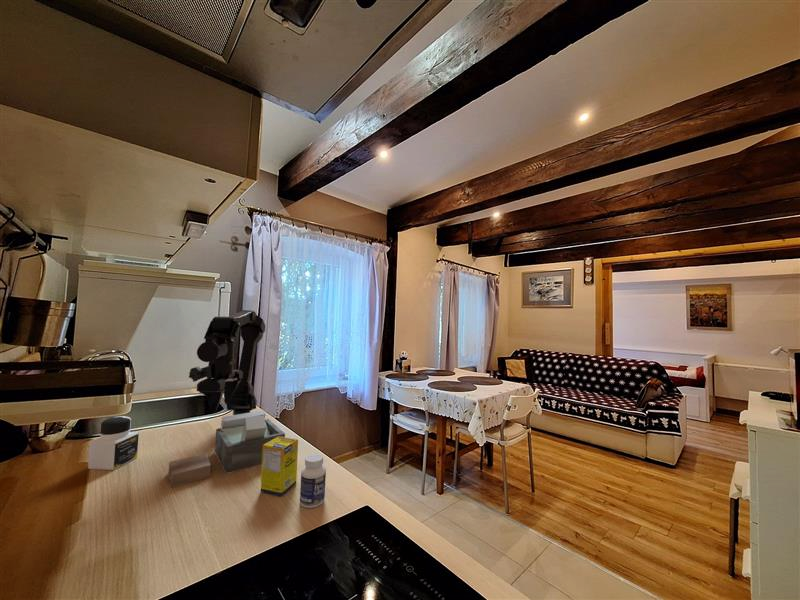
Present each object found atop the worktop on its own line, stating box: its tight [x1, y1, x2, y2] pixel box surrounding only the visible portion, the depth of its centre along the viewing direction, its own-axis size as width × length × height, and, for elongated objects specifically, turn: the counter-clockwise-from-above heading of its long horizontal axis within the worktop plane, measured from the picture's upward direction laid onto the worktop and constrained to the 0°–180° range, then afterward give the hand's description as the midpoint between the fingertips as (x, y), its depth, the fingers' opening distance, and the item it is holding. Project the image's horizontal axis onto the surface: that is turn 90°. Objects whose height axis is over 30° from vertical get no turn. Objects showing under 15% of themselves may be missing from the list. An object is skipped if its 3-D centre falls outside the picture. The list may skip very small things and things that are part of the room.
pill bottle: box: [299, 453, 327, 509], centre depth 70 cm, size 5×5×10 cm
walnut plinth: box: [168, 453, 212, 488], centre depth 79 cm, size 8×8×3 cm
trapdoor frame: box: [214, 418, 286, 474], centre depth 91 cm, size 15×15×7 cm
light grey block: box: [241, 416, 266, 442], centre depth 89 cm, size 5×5×8 cm
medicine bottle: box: [87, 415, 139, 471], centre depth 84 cm, size 7×7×12 cm
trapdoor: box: [220, 409, 270, 444], centre depth 93 cm, size 15×12×3 cm
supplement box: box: [260, 436, 299, 497], centre depth 75 cm, size 6×6×11 cm
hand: (220, 407), depth 96 cm, fingers open, 9 cm apart
